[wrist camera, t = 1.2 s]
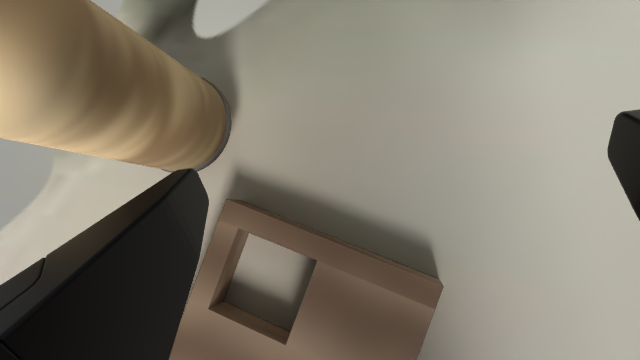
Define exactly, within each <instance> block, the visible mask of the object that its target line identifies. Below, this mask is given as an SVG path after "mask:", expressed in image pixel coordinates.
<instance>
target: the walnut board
mask: <svg viewBox="0 0 640 360" xmlns="http://www.w3.org/2000/svg"><path fill="white" fill-rule="evenodd" d="M249 233H251V234H254V235H256V236H259V237H261V238H263V239H266V240H268V241H271V242H273V243H276V244H278V245H280V246H283V247H285V248H288V249H290V250H293V251H295V252H297V253H300V254H302V255H305V256H307V257H309V258H312V259H314V260H317V263H316V265H315V268H314V271H313V273H312V276H311V279H310V281H309V284H308V287H307V289H306V292H305V295H304V298H303V300H302V303H301V306H300V308H299V311H298V314H297V316H296V319H295V322H294V324H293V327H292V330H291V332H289V331H287V330H285V329H283V328H281V327H279V326H276V325H274V324H272V323H270V322H268V321H265V320H263V319H261V318H259V317H257V316H254V315H252V314H250V313H248V312H246V311H244V310H241V309H239V308H237V307H235V306H233V305H230V304H228V303H226V302H224V298H225V295H226V293H227V290H228V287H229V285H230V282H231V279H232V277H233V274H234V271H235V269H236V266H237V263H238V261H239V258H240V255H241V253H242V250H243V247H244V245H245V242H246V239H247V237H248V234H249ZM443 287H444V286H443V284H442V283H441V281H440V280H439V279H437V278H434V277H432V276H429V275H427V274H424V273H422V272H419V271H417V270H414V269H412V268H409V267H406V266H404V265H401V264H399V263H396V262H394V261H391V260H389V259H386V258H384V257H381V256H379V255H376V254H374V253H371V252H369V251H366V250H364V249H361V248H359V247H356V246H354V245H351V244H349V243H346V242H344V241H341V240H339V239H336V238H334V237H331V236H329V235H326V234H323V233H321V232H318V231H316V230H313V229H311V228H308V227H306V226H303V225H301V224H298V223H296V222H293V221H291V220H288V219H286V218H283V217H281V216H278V215H276V214H273V213H271V212H268V211H266V210H263V209H261V208H258V207H256V206H253V205H251V204H248V203H246V202H243V201H240V200H230V199H226V202H225V205H224V207H223V210H222V213H221V215H220V218H219V221H218V223H217V226H216V228H215V231H214V234H213V236H212V239H211V242H210V244H209V247H208V250H207V252H206V255H205V258H204V260H203V263H202V266H201V268H200V271H199V274H198V276H197V279H196V282H195V284H194V287H193V290H192V292H191V295H190V298H189V300H188V303H187V306H186V308H185V311H184V313H183V316H182V319H181V321H180V324H179V328H178V331H177V334H176V338H175V341H174V344H173V348H172V351H171V354H170V358H169V360H417V357H418V355H419V352H420V349H421V346H422V344H423V341H424V338H425V335H426V333H427V330H428V327H429V325H430V322H431V319H432V316H433V314H434V311H435V308H436V306H437V303H438V300H439V297H440V295H441V292H442V289H443Z"/></svg>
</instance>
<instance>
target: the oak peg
mask: <svg viewBox="0 0 640 360" xmlns="http://www.w3.org/2000/svg"><path fill="white" fill-rule="evenodd" d="M230 131H231V113H230V108H229V106H228V103H227V101H226V99H225V97H224V96H223V94H222V93H221V92H220V90H219V89H218V88H217V87H215V86H214V85H213V84H211V83H210V82H209V81H207V80H205V79H204V78H201V77H199V76H198V75H196V74H195V73H193V72H192V71H190V70H189V69H188V68H186V67H185V66H183V65H182V64H180V63H179V62H178V61H176V60H175V59H173V58H172V57H170V56H169V55H168V54H166V53H165V52H163V51H162V50H160V49H159V48H158V47H156V46H155V45H153V44H152V43H150V42H149V41H148V40H146V39H145V38H143V37H142V36H140V35H139V34H138V33H136V32H135V31H133V30H132V29H131V28H129V27H128V26H126V25H125V24H123V23H122V22H121V21H119V20H118V19H116V18H115V17H113V16H112V15H111V14H109V13H108V12H106V11H105V10H103V9H102V8H101V7H99V6H98V5H96V4H95V3H93V2H92V1H90V0H0V138H4V139H9V140H14V141H19V142H25V143H30V144H35V145H40V146H45V147H50V148H55V149H61V150H66V151H71V152H76V153H81V154H86V155H92V156H97V157H102V158H107V159H112V160H118V161H123V162H128V163H133V164H138V165H143V166H149V167H154V168H159V169H162V170H164V171H167V172H172V173H173V172H174V171H176V170H180V169H187V168H193V169H195V170H196V171H199V170H202V169H204V168H205V167H207V166H209V165H210V164H211V163H213V162H214V161H215V160H216V159H217V158H218V157H219V155H220V154H221V153H222V151H223V150H224V148H225V146H226V144H227V142H228V139H229V136H230Z"/></svg>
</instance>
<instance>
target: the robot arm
mask: <svg viewBox="0 0 640 360" xmlns="http://www.w3.org/2000/svg"><path fill="white" fill-rule="evenodd" d="M608 158H609V160H610V163H611V165H612V167H613V169H614V171H615V173H616V175H617V177H618V179H619V181H620V183H621V185H622V187H623V189H624V191H625V193H626V195H627V197H628V199H629V201H630V203H631V205H632V207H633V209H634V211H635V213H636V215H637V217H638V219H639V220H640V109H639V110H632V111H624V112H621V113H619V114H618V115H617V116H616V118H615V120H614V124H613V128H612V132H611V136H610V141H609V145H608ZM208 206H209V199H208V195H207V193H206V190H205V188H204V186H203V184H202V182H201V179H200V177H199V175H198V173H197V171H196V170H195V169H193V168H187V169H180V170H176V171H174V172H173V173H171V174H170V175H168V176H167V177H165V178H164V179H162V180H161V181H159V182H158V183H156V184H155V185H153V186H151V187H150V188H148V189H147V190H145V191H144V192H142V193H141V194H139V195H138V196H136V197H135V198H133V199H132V200H130V201H129V202H127V203H126V204H124V205H123V206H121V207H120V208H118V209H116V210H115V211H113V212H112V213H110V214H109V215H107V216H106V217H104V218H103V219H101V220H100V221H98V222H97V223H95V224H94V225H92V226H91V227H89V228H88V229H86V230H85V231H83V232H82V233H80V234H78V235H77V236H75V237H74V238H72V239H71V240H69V241H68V242H66V243H65V244H63V245H62V246H60V247H59V248H57V249H56V250H54V251H53V252H51V253H50V254H48V255H47V256H46V258H42V259H40V260H39V261H37V262H36V263H34V264H33V265H31V266H30V267H28V268H27V269H25V270H24V271H22V272H20V273H19V274H17V275H16V276H14V277H13V278H11V279H9V280H8V281H6V282H5V283H3V284H2V285H0V360H169V358H170V354H171V351H172V348H173V344H174V341H175V338H176V334H177V331H178V328H179V324H180V321H181V318H182V314H183V311H184V308H185V304H186V301H187V298H188V294H189V291H190V288H191V284H192V281H193V278H194V274H195V271H196V268H197V264H198V260H199V256H200V252H201V246H202V241H203V235H204V229H205V223H206V218H207V212H208Z"/></svg>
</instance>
